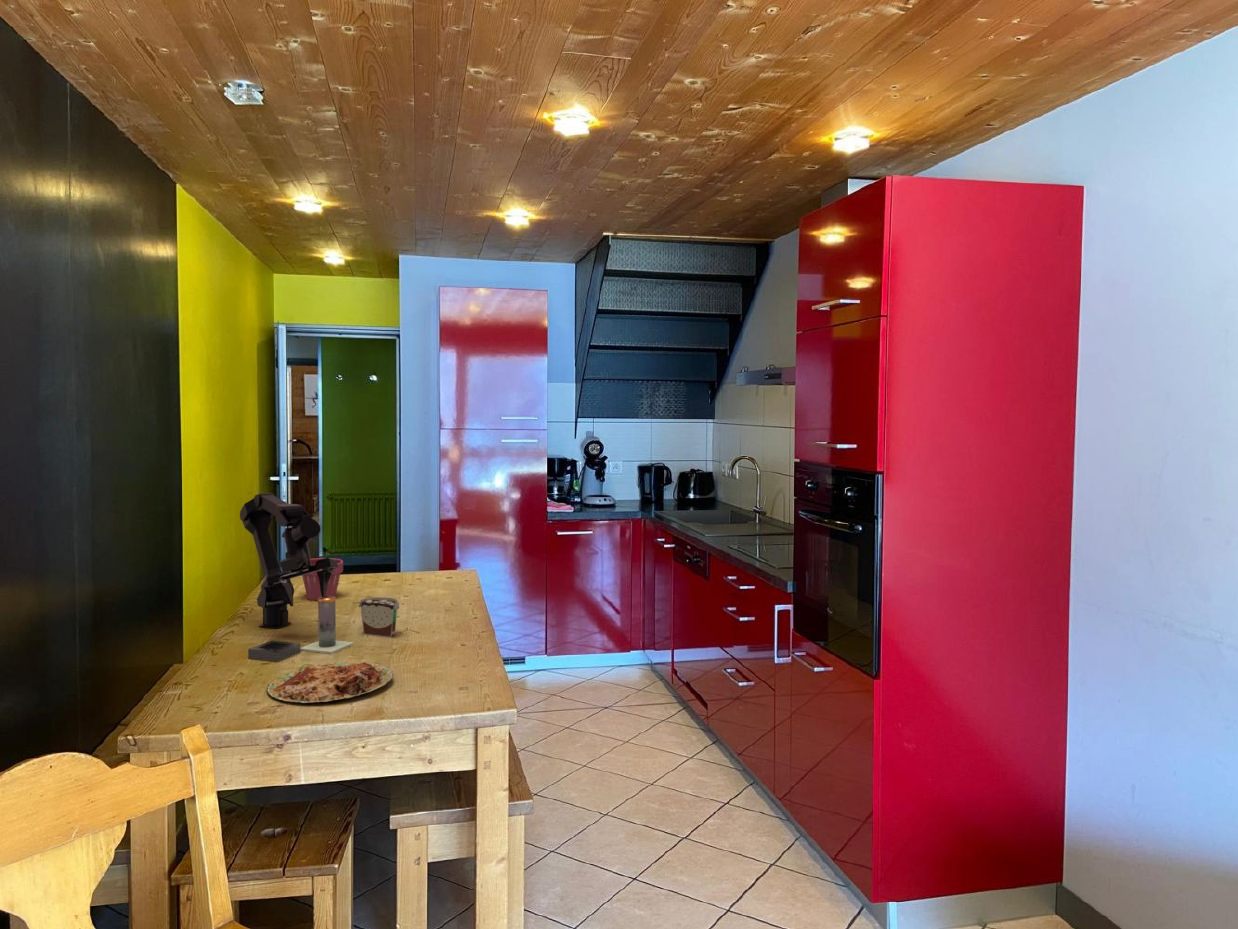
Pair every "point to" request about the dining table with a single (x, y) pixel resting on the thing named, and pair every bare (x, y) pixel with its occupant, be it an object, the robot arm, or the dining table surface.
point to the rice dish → (329, 681)
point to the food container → (379, 616)
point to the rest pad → (315, 647)
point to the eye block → (274, 650)
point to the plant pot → (314, 586)
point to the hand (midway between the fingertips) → (307, 601)
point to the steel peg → (327, 621)
